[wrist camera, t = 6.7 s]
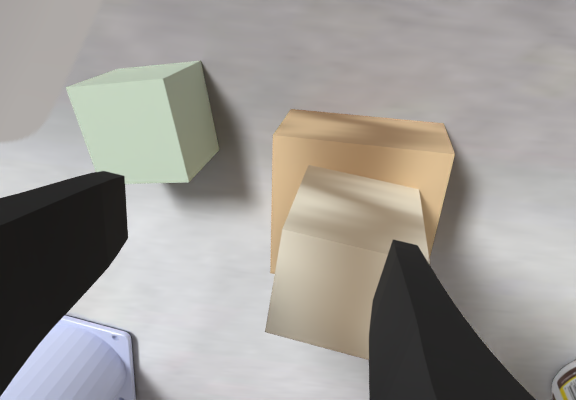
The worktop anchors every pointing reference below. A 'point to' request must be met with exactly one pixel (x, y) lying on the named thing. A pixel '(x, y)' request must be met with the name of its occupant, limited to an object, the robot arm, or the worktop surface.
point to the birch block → (338, 257)
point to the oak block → (360, 159)
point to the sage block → (147, 122)
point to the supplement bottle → (565, 383)
